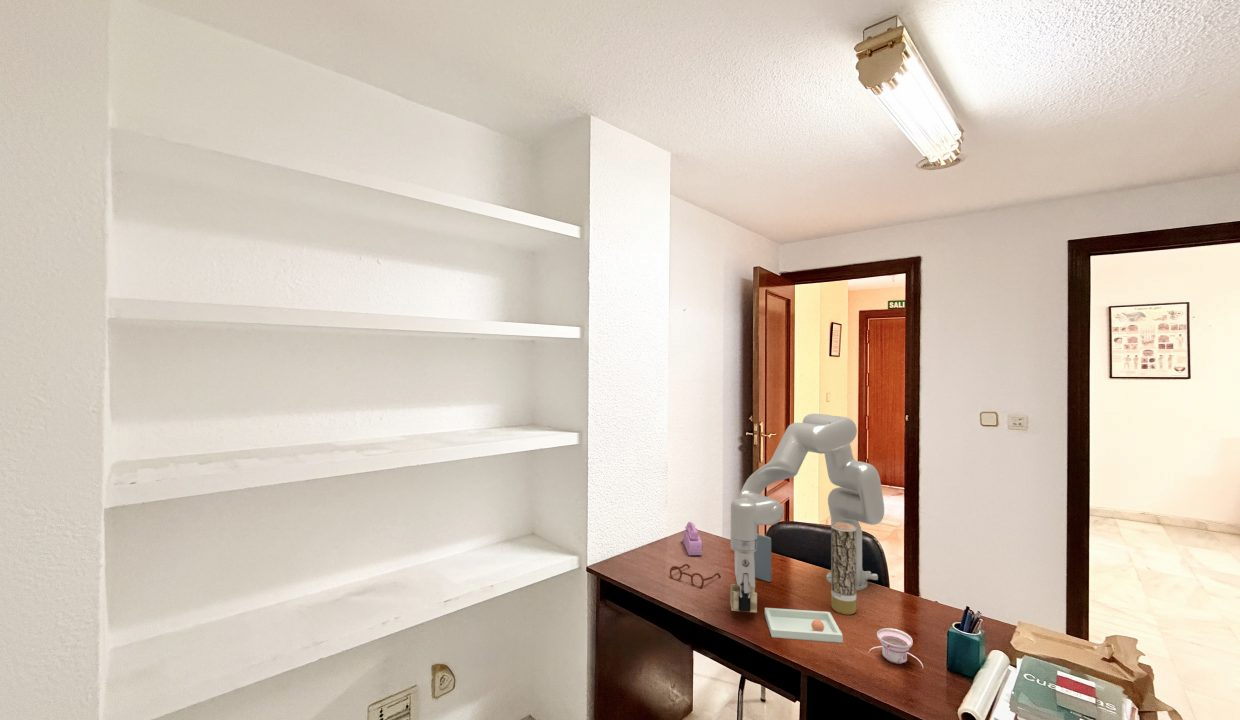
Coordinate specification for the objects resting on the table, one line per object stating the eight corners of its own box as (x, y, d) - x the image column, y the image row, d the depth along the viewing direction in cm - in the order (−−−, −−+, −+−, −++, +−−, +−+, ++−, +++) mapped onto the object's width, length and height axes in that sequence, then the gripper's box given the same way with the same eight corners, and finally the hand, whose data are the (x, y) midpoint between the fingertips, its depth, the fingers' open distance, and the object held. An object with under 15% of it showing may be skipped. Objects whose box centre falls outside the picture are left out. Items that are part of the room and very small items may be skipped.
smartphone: (771, 582, 165) (771, 537, 165) (770, 583, 165) (770, 538, 165) (749, 574, 171) (749, 531, 171) (747, 575, 170) (747, 532, 170)
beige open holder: (754, 604, 145) (754, 585, 145) (756, 612, 140) (757, 593, 140) (730, 602, 146) (730, 583, 146) (731, 610, 141) (731, 591, 141)
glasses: (668, 580, 168) (668, 565, 168) (689, 567, 178) (689, 554, 178) (702, 591, 159) (702, 576, 159) (722, 578, 169) (722, 563, 169)
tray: (829, 620, 141) (829, 611, 141) (842, 644, 129) (842, 635, 129) (764, 616, 143) (764, 607, 143) (771, 639, 131) (771, 630, 131)
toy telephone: (703, 557, 187) (703, 530, 187) (687, 557, 187) (687, 530, 187) (695, 540, 205) (695, 515, 205) (679, 540, 204) (679, 516, 204)
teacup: (879, 642, 130) (879, 619, 130) (931, 663, 121) (931, 638, 121) (859, 660, 122) (859, 636, 122) (913, 685, 113) (913, 658, 113)
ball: (821, 623, 136) (814, 615, 136) (828, 628, 133) (820, 619, 133) (814, 632, 135) (806, 624, 135) (821, 637, 132) (813, 629, 132)
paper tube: (845, 617, 142) (845, 531, 142) (826, 607, 149) (826, 524, 149) (861, 612, 146) (861, 527, 146) (841, 602, 152) (841, 520, 152)
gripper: (761, 555, 134) (760, 622, 134) (753, 533, 151) (752, 593, 151) (733, 553, 135) (732, 620, 135) (728, 532, 152) (727, 591, 152)
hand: (743, 605), depth 143 cm, fingers closed on beige open holder, 5 cm apart
